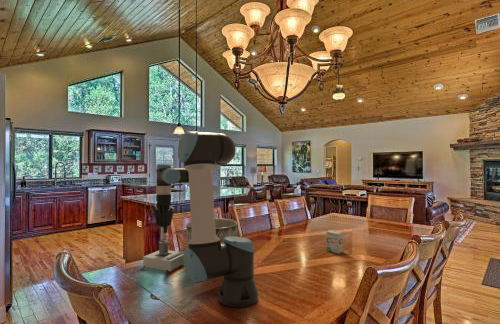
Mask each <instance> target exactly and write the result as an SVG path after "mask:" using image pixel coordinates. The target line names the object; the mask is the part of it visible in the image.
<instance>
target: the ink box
mask: <svg viewBox="0 0 500 324" xmlns="http://www.w3.org/2000/svg"><path fill="white" fill-rule="evenodd" d="M343 234H344V233H343V232H342V231H339V230H338V231H337V230H334V229H333V230H332V229H329V230H327V231H326V233H325V235H326V238H325V240H326V241H325V242H326V247H325V248H326V252H332V253H335V254H341V253H343V251H344V250H343V248H344V245H343V243H344V242H343V241H344V238H343V237H344V236H343Z"/></svg>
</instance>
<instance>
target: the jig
mask: <svg viewBox="0 0 500 324" xmlns="http://www.w3.org/2000/svg"><path fill="white" fill-rule="evenodd" d="M183 252H184V251H177V250H169V249H168V256H166V257H160V256H159V250H156V251H154V252H152V253H149V254H146V255H144V256H143V257H142V267H143V266H145V267H144V268H148V267H151V268H150V269H153V268H156V269H155V270H159V269H162V270H161V271H165V270H168V271H167V272H173V271H174V270H176V269H178V268H179V266H180V267H181V265H182V266H184V263H183ZM175 268H176V269H175ZM173 269H174V270H173Z"/></svg>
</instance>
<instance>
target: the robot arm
mask: <svg viewBox="0 0 500 324" xmlns="http://www.w3.org/2000/svg"><path fill="white" fill-rule="evenodd" d="M180 137H181V138H180V139H179V142H178V146H177V158H178V162H180V163H182V164H183V167H177V168H176V167H175V168H174V167H172V164H169V163H168V164H166V163H165V164H164V163H163V164H160V163H159V164H157V165H156V167H155V168H156V169H155V176H156V177H155V178H156V179H155V184H156V185H155V201H156V205H154V206H152V210H153V214H154V218H155V219H154V220H155V224H156V226H158V228H159V233H160V240H167V233H168V227H169V226H171V225H172V220H173V216H174V211H175V209H176V208H175V207H173V206H172V204H171V203H172V202H171V201H172V194H171V193H172V185H174V184H188V187H189V188H188V189H189V204H190V205H189V206H190V221H191V226H192V238H191V240H190V241H189V242H188V245H187V246H188V248H186V247H185V248H186V249H185V248H184V250H183V251H182V252H183V263H184V264H183V267H184V270H185V273H186V274H187V277H188V278H189V280H190V281H192V282H194V283H195V282H196V283H197V282H206V281H207V280H213V279H216V278H220V277H223V278H222V283H221V285H220V289H219V291H218V301H219V303H220V302H221V303H222V304H221V303H220V304H221V305H223V304H224V305H223V306H225V305H226V306H225V307H228V306H230V307H229V308H233V307H242V308H247V307H246V306H248V307H251V306H252V304H253V305H255V304H257V301H258V300H259V292H258V287H257V285H256V281H255V279H254V278H255V277H254V275H255V273H254V272H255V271H254V267H255V266H254V264H255V262H254V259H255V258H254V256H255V255H254V253H255V249H254V242H253V241H252V240H251V239H249V238H246V237H241V236H237V237H225V238H224V240H223V243H220V238H219V237H217V236H216V230H215V217H216V216H215V206H214V205H215V204H214V188H213V186H214V185H213V174H212V173H213V171H215V170H217V169H218V168H219V167H221V166H226V165H227V164H228V163H231V162H232V160H233V159H234V158H235V156H236V152H237V149H236V148H237V147H236V144H235V142H234V140H233V139H232V138H231V137H230V136H229V135H227V134H225V133H221V132H207V131H197V130H195V131H186V132H184V133H183V134H182V136H180ZM254 303H255V304H254ZM250 305H251V306H250Z"/></svg>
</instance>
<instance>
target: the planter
mask: <svg viewBox="0 0 500 324" xmlns="http://www.w3.org/2000/svg"><path fill="white" fill-rule="evenodd" d="M185 225H186V242H187V246H188V242H189V241H190V240H191V238H192V226H191V220H190V221H188V222H187V223H185ZM238 226H239V223H238V221H236V220H234V219H230V218H215V230H216V236H217V237H219V238H220V243H223V240H224V238H225V237H238Z"/></svg>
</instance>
